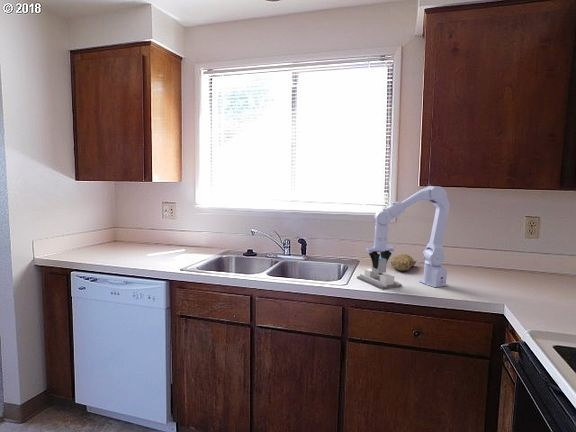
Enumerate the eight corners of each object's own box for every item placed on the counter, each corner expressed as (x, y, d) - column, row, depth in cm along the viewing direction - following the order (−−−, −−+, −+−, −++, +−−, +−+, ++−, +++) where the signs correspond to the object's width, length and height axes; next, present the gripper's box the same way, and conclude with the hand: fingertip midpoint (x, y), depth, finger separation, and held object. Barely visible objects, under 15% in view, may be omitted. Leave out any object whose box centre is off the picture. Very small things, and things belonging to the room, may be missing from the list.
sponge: (398, 265, 206) (380, 263, 192) (403, 252, 205) (385, 249, 191) (420, 274, 197) (403, 273, 183) (425, 261, 196) (408, 258, 182)
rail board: (401, 286, 162) (402, 276, 161) (381, 289, 157) (382, 279, 156) (375, 276, 178) (376, 266, 177) (356, 278, 173) (357, 268, 172)
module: (386, 272, 165) (386, 258, 165) (378, 273, 164) (379, 259, 163) (378, 269, 170) (379, 256, 169) (371, 270, 168) (372, 257, 168)
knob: (383, 273, 182) (383, 267, 182) (377, 274, 181) (377, 268, 180) (378, 272, 186) (378, 266, 185) (372, 272, 184) (372, 266, 184)
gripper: (387, 235, 172) (386, 264, 173) (362, 237, 166) (360, 266, 167) (398, 238, 165) (396, 267, 167) (372, 239, 159) (370, 270, 161)
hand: (379, 267), depth 167 cm, fingers closed on module, 4 cm apart
